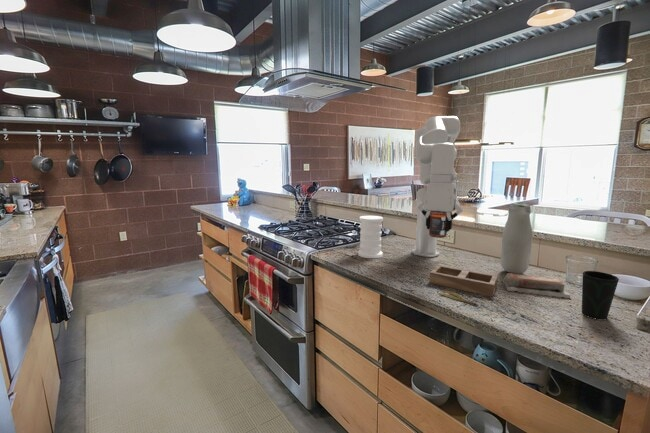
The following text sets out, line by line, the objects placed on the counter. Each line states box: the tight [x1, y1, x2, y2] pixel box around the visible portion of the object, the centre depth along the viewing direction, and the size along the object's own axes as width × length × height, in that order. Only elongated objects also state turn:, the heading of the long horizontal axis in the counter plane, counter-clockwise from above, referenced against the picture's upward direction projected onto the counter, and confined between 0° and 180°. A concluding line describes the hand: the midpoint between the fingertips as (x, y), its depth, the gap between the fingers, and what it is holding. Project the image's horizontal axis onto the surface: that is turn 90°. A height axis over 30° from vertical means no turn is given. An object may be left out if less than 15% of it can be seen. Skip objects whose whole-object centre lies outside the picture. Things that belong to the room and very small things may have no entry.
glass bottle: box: [500, 202, 534, 275], centre depth 123 cm, size 10×10×28 cm
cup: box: [581, 270, 620, 320], centre depth 90 cm, size 8×8×12 cm
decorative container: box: [357, 215, 384, 259], centre depth 148 cm, size 12×12×18 cm
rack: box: [428, 264, 498, 298], centre depth 113 cm, size 11×21×4 cm, turn 56°
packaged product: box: [502, 272, 572, 299], centre depth 109 cm, size 18×5×10 cm
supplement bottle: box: [429, 211, 448, 239], centre depth 113 cm, size 6×6×11 cm
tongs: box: [439, 290, 479, 307], centre depth 101 cm, size 4×13×2 cm, turn 39°
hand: (438, 229), depth 113 cm, fingers closed on supplement bottle, 6 cm apart
